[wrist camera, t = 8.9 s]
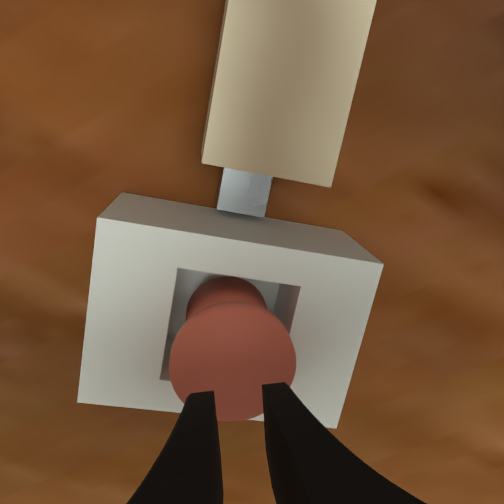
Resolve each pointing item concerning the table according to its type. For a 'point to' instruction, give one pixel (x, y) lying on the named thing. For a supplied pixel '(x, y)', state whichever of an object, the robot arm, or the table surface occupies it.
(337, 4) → the block
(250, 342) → the knob
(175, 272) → the white button housing
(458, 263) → the table surface
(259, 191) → the rail
